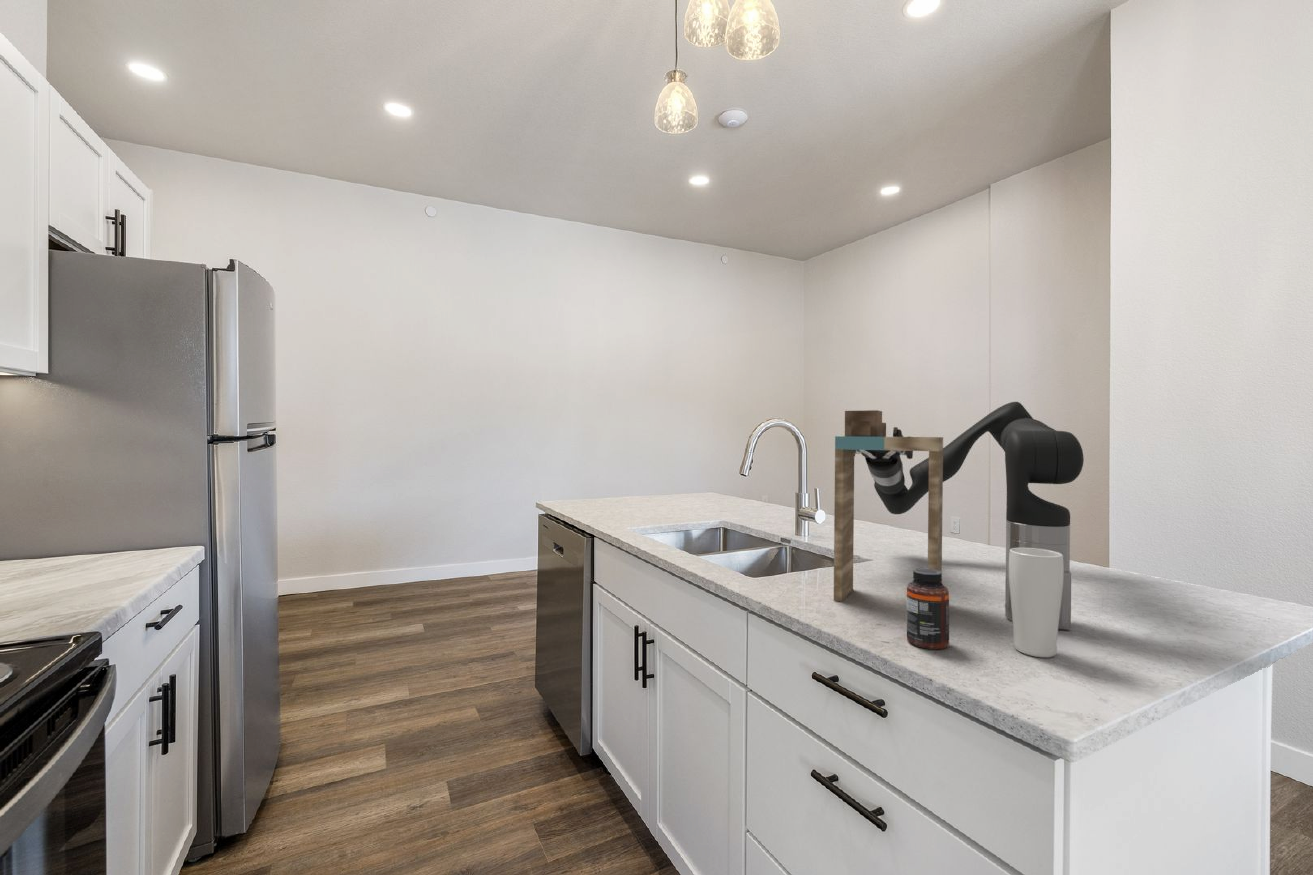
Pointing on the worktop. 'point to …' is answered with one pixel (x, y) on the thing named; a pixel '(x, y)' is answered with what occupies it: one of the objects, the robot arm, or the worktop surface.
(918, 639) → the supplement bottle
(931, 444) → the oak stand
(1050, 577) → the white tall cup
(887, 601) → the worktop surface
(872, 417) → the brown wooden block
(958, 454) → the robot arm
